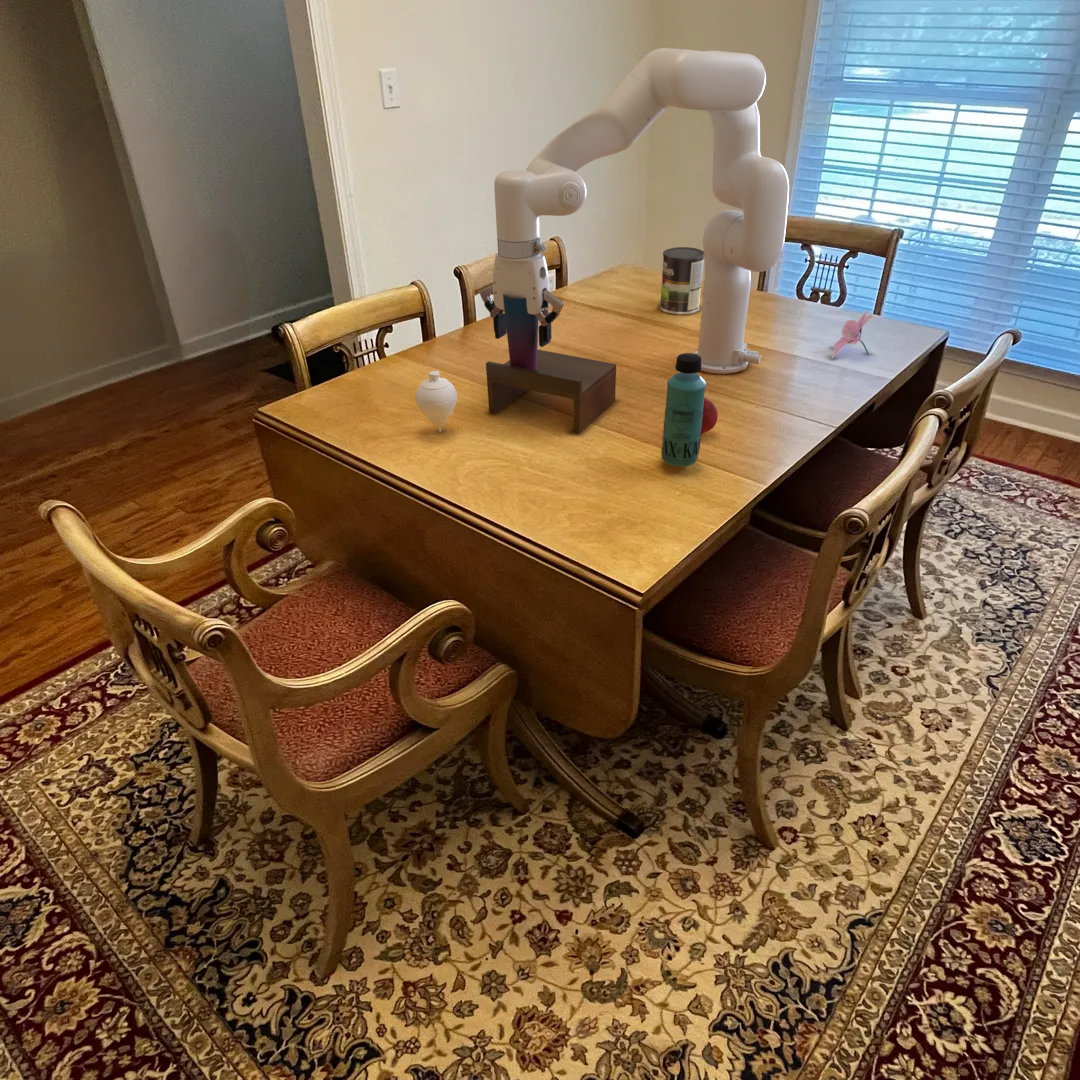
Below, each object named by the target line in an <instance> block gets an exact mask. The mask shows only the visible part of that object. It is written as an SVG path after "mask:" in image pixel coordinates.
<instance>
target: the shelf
mask: <svg viewBox="0 0 1080 1080" xmlns="http://www.w3.org/2000/svg"><path fill="white" fill-rule="evenodd" d="M485 370H486V371H485V372H486V373H485V374H486V385H487V386H486V387H487V401H488V413H489V414H491V415H496V414H497V413H498V412H499V411H501V410H503V408H505V407H506V406H508V405H509V404H511V403H512V402H513V401H514V400H516V399H517V398H519V397H520V396H521V395H523V394H524V393H526V391H532V392H538V393H541V394H546V395H551V396H557V397H562V398H566V399H571V400H573V433H574V434H576V435H577V434H578V435H580V434H581V433H582V432H583V431H584V430H586V428H588V427H589V426H590V425H591V424H592V423H593V422H595V420H596V419H597V418H599V417H600V416H602V414H603V413H604V412H605V411H606V410H607V409H609V408H610V407H611V406H612V405H613V404H614V403H615V402H616V391H617V390H616V386H617V363H613V362H607V361H602V360H598V359H597V360H596V359H591V358H587V357H586V358H585V357H582V356H581V357H580V356H576V355H569V354H565V353H559V352H553V351H548V350H544V349H543V350H542V349H538V348H537V370H536V371H535V370H530V369H525V368H520V367H515V366H510V359H509V360H508V361H506V362H505V363H500V362H494V361H486V362H485Z"/></svg>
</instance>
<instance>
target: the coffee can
mask: <svg viewBox="0 0 1080 1080" xmlns="http://www.w3.org/2000/svg"><path fill="white" fill-rule="evenodd" d="M662 257H663V258H662V273H661V275H662V276H661V289H660V303H659V309H660V310H661V311H662V312H663V313H667V314H671V315H681V316H684V315H691V314H695V313H698V312H699V311H700V305H701V304H700V303H701V294H702V293H701V292H702V284H703V283H702V281H703V273H704V264H705V259H704V250H702V249H700V248H697V247H696V248H695V247H689V246H678V247H677V246H675V247H671V248H667V249H665V250H664V251H663V252H662Z"/></svg>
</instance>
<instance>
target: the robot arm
mask: <svg viewBox="0 0 1080 1080" xmlns="http://www.w3.org/2000/svg"><path fill="white" fill-rule="evenodd" d="M766 75H767V74H766V69H765V67H764V65H763V62H762V61H761V60H760V59H759V58H758V57H757V56H755V55H753V54H751V53H746V52H735V51H725V50H704V51H703V50H702V51H701V50H693V49H683V48H672V47H661V48H656V49H653V50H651V51H650V52H649V53H647V54H646V55H645V56H644V57H643V58H642V59H640V61H639V62H638V63H637V64H636V65H635V66H634V68H633V69H632V70H630V72H629V73H628V74H627V75H626V76H625V77H624V78H623V80H621V81H620V83H619V84H618V85H617V86H616V87H615V88H614V89H613V90H612V92H611V93H609V95H607V97H606V98H605V99H604V100H603V101H602V102H601V103H600V104H599V105H598V106H597V107H596V108H595V109H594V110H592V111H591V112H589V113H587V114H585V115H584V116H582V117H580V119H578V120H577V121H575V122H573V123H572V124H571V125H569V126H568V127H566V128H565V129H563V130H561V131H560V132H559V133H557V134H556V135H555V136H554V137H553V138H552V139H550V141H549V142H548V143H547V144H546V145H545V146H543V148H542V149H541V150H540V151H539V152H538V154H537V155H535V157H534V158H533V159H532V160H531V162H530V163H529V164H528V165H527V167H526V168H525V170H506V171H502V172H500V173H498V174H497V175H496V177H494V183H493V185H494V186H493V187H494V188H493V189H494V203H495V204H494V205H495V222H496V240H497V241H496V242H497V253H496V254H495V257H494V263H493V272H492V273H493V274H492V285H490V286H488V287H486V288H484V289H482V290H481V291H479V296H480V298H481V299H482V301H483V306H484V307H485V309H486V310H487V311H488V312H489V316H490V317H491V318H492V321H493V322H492V323H493V332H494V338H495V339H496V340H499V339H501V338H503V337H505V335H506V336H507V330H506V321H505V313H504V301H503V294H504V295H505V296H507V297H511V298H526V302H527V310H528V314H531V315H535V316H536V317H537V319H538V323H540V325H538V347H541V348H544V347H545V346H547V345H548V344H550V342H551V341H552V323H553V322H554V321H555V320H556V319H557V318H558V317H559V316H560V313H561V312H562V309H563V308H564V304H565V303H564V301H563V300H562V299H560V298H559V297H557V296H556V295H555V294H554V293H552V292H551V285H550V284H551V283H550V275H549V271H548V264H547V261H546V257H545V255H544V254H542V253H545V252H546V249H547V246H546V244H545V243H543V242H541V237H540V236H541V235H540V234H541V233H540V232H541V231H540V217H541V216H552V217H553V216H554V217H564V216H565V217H566V216H568V215H569V216H570V215H572V214H575V213H576V212H577V211H579V210H580V209H581V208H582V207H583V205H584V204H585V201H586V199H587V187H586V183H585V181H584V179H583V178H582V176H580V175H579V174H578V173H577V172H578V171H579V170H580V169H581V168H583V167H584V166H586V165H587V164H589V163H591V162H593V161H595V160H598V159H601V158H605V157H608V156H609V157H610V156H612V155H616V154H619V153H621V152H623V151H626V150H627V149H629V148H631V147H632V146H633V145H634V144H635V143H636V142H637V140H639V138H640V137H641V136H643V134H644V133H645V132H646V131H647V129H649V127H650V126H651V125H652V124H653V123H654V122H655V121H656V120H657V119H658V118H659V117H660V116H661V115H662V114H663V113H664V111H666V110H667V108H669V107H671V108H678V109H684V110H685V109H686V110H693V111H706V113H707V114H708V116H709V119H710V122H711V125H712V126H711V127H712V135H713V136H712V137H713V138H712V139H713V145H712V147H713V148H712V178H711V179H712V181H711V182H712V183H711V184H712V193H713V195H714V197H715V199H717V201H718V202H721V203H723V204H725V205H726V206H730V207H733V208H736V209H739V210H735V209H725V210H721V211H719V212H717V213H715V214H713V216H711V218H709V220H708V221H707V223H706V225H705V227H704V231H703V236H702V245H703V251H704V276H703V277H704V279H703V289H702V290H703V291H702V300H701V301H702V302H701V311H700V312H701V313H700V321H699V333H698V343H697V344H698V345H697V350H695V351H694V352H692V353H693V354H697V355H699V356H700V357H701V365H702V367H701V371H700V372H705V373H709V374H719V375H728V374H734V373H738V372H741V371H743V370H745V369H746V368H747V367H748V366H749V363H750V364H754V365H755V364H756V365H760V364H761V361H762V355H761V354H760V351H756V350H750V349H749V348H747V347H748V342H744V341H745V333H746V331H745V330H746V326H747V325H746V324H747V316H748V308H749V303H750V302H749V301H750V294H751V285H752V282H751V281H752V280H751V277H752V276H751V272H752V273H753V272H754V273H763V272H767V271H769V270H771V269H772V268H773V267H774V266H775V265H776V264H777V262H778V261H779V259H780V257H781V255H782V252H783V249H784V246H785V240H786V239H785V238H786V231H787V230H786V229H787V218H788V208H789V207H788V206H789V195H790V194H789V193H790V183H789V177H788V174H787V171H786V169H785V167H784V166H783V165H782V164H781V163H780V162H779V161H778V160H776V159H774V158H771V157H767V156H763V155H761V120H760V119H761V118H760V112H759V108H758V105H757V102H758V101H759V99H760V98H761V97H762V95H763V92H764V90H765V86H766V81H767V76H766ZM740 210H741V211H740ZM491 295H492V296H491ZM492 298H493V299H492ZM551 306H552V309H551V311H550V310H549V308H550V307H551Z"/></svg>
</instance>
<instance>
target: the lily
mask: <svg viewBox="0 0 1080 1080" xmlns="http://www.w3.org/2000/svg"><path fill="white" fill-rule="evenodd" d="M869 311H870V309H867V310H866V311H865V312H864V313H863V314H862V315H861V316H860V317H858V319H857V321H856V320H855V319H848V320H846V321H845V322H844V324H843V326H842V329H841V336H842V337H840V338H839V339H838V340H837V341H836V342H835V343H834V344H833V345H832V347H831V349H834V350H833V352H832V355H831V359H833V358H835V356H836V355H837V354H838V353H839V352H840V351H841V350H842V349H843V348H844V347H845V346H846V345H857V344H858V342H860V343H861V344H862V346H863V347H864V350H865V352H866V354H867V355H869V351H868V349H867V346H866V345H865V343H864V341H863V340H862V330H863V327H864V325H866V324H867V323H868V322H869V321H870V320H871V319H872V318H874V314H869V315H868V312H869Z"/></svg>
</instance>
